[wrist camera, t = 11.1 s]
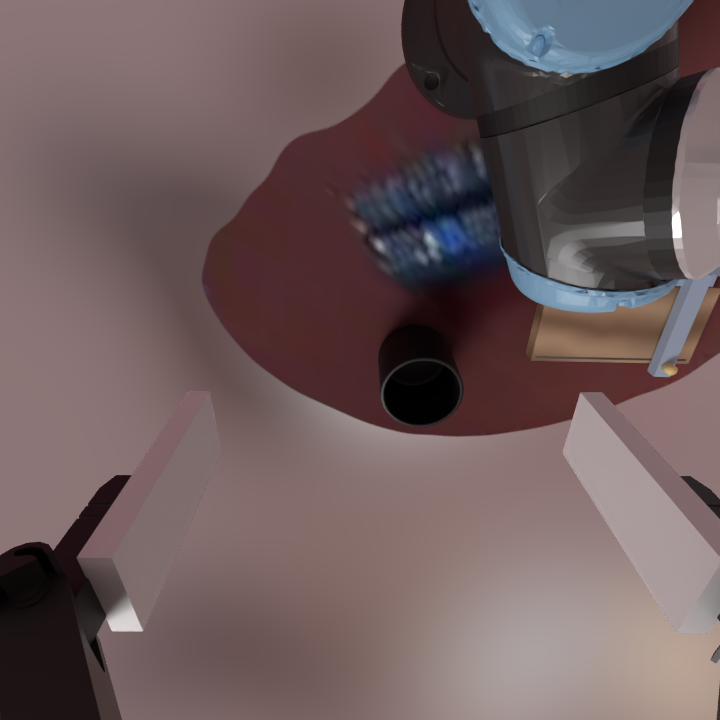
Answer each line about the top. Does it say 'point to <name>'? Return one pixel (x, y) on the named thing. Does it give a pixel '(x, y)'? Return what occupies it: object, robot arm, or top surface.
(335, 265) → the top surface
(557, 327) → the board
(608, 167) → the robot arm
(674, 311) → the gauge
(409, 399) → the mug
